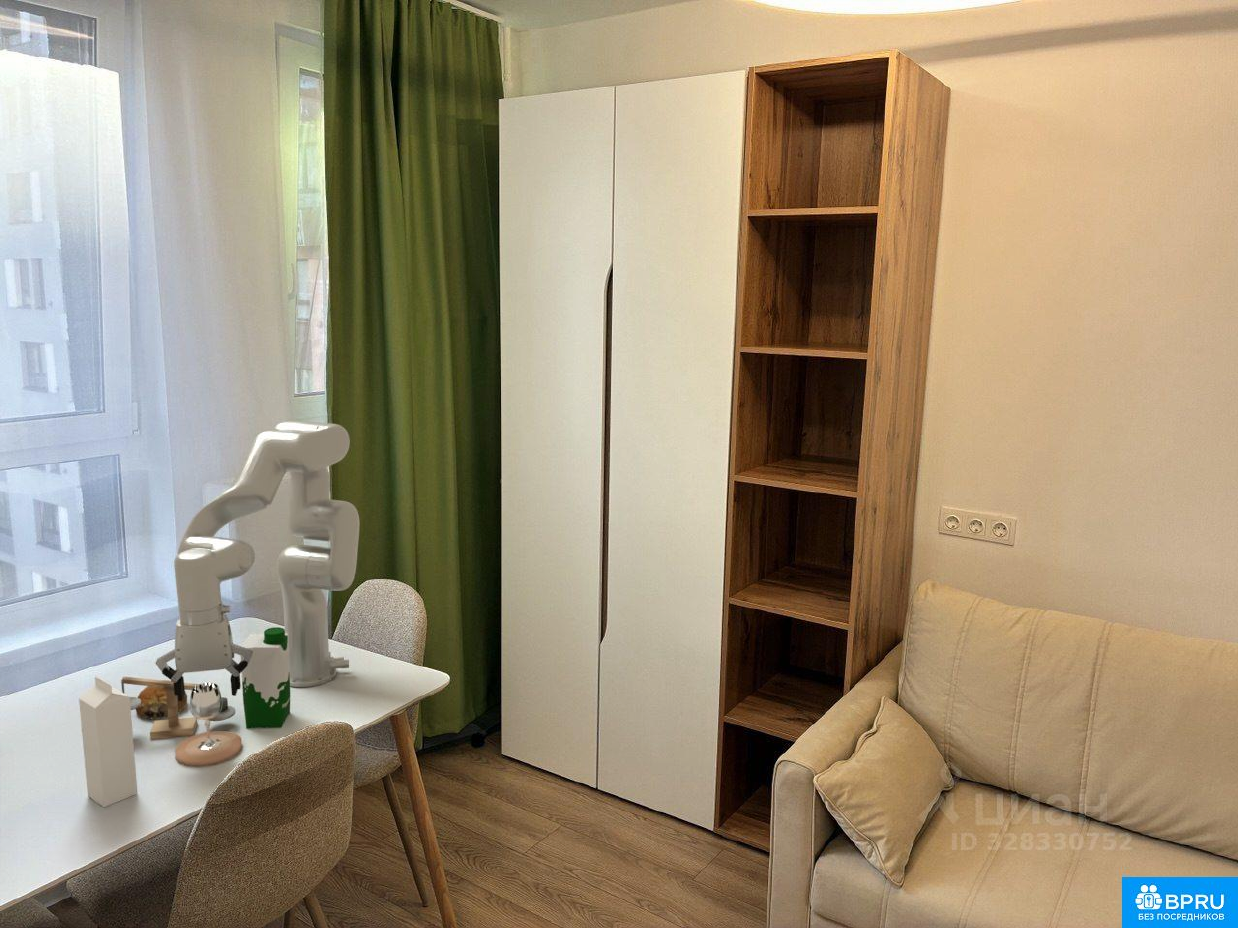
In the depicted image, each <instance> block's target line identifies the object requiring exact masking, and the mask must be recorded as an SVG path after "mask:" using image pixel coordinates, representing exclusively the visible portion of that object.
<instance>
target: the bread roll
mask: <svg viewBox="0 0 1238 928" xmlns="http://www.w3.org/2000/svg"><path fill="white" fill-rule="evenodd" d="M162 681H170V679H169V680H166V679H163V680H162ZM136 697H137V698H139V699H140V700H141V705H140V706H139V707H138V708H136V709H135V712H136V714H137V715H138V716H139V717H141V718H143V719H148V720H150V719H152V720H157V719H162V718H168V709H167V695H166V691H164V687H154V686H145V688H144V689H143V690H141V691H140V692H139V694H138V695H137V696H136ZM177 704H178V714H179V713H180V712H181V711H182V710H184V709H185V708H186V706H187V704H188V695H187V692H186V691H185V695H184V698H183V700H182V701H178V695H177Z"/></svg>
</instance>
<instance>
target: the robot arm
mask: <svg viewBox="0 0 1238 928" xmlns="http://www.w3.org/2000/svg"><path fill="white" fill-rule="evenodd" d="M252 441H253V442H252V443H251V445H250V447H249V448H248V451H247V453H246V454H245V455H246V456H245V457H244V459H243V461H242V463H241V466H240V467H239V470H238V472H237V474H236V475H235V477H234V480H233V482H232V483H231V486H230V487H229V488H228V489H227V490H225V491H223V492H222V493H220V494H219V495H217V496H216V497H214V498H213V499H212V500H211V501H209V502H208V503H207V504H205V505H204V506H203V507H201V508H200V510H198V511H197V512H196V513H195V515H194V516H193V517H192V518H191V520H190V522H189V524H188V525H187V528H186V530H185V532H184V533H183V536H182V539H181V541H180V543H179V547H178V550H177V555H176V556H175V558H174V562H173V563H174V564H173V565H174V566H173V567H174V577H175V585H176V586H175V587H176V595H177V604H178V605H177V606H178V614H179V616H178V617H179V619H177V620H176V625H175V633H174V634H175V635H174V649H172V650H171V651H168V652H167V653H166V654H163V655H162V656H160V657H157V659H156V661H155V666H157V668H158V669H159V670H160V671H161V674H162V675H163V676H165V677H166V678H168V679H169V680H170V681H171V682H173V684H174V693H175V696H177V695H178V701H182V700H183V698H184V695H185V692H186V690H185V688H184V683H185V680H184V676H183V675H184V674H185V673H196V672H197V673H198V672H209V671H220V670H226V671H227V672H229V673H230V674H231V676H230V688H231V689H230V691H231V696H233V697H234V696H235V697H236V696H237V693H238V690H241V687H242V683H241V674H242V671H243V670H244V669H245V668H246V667H247V665H248V663H249V661H250V659H251V657H252V654H253V651H252V650H250V649H247V648H244V647H241V646H242V645H239V644H237V643H236V644H235V643H234V639H233V633H232V629H231V624H230V620H229V617H228V615H227V614H226V613H231V605H225V604H224V603H223V600H222V593H221V583H222V582H226V581H229V580H233V579H236V578H239V577H242V576H244V575H245V574H247V572H249V571H250V570H251V569H252V567H253V565H254V562H255V558H256V557H255V556H256V554H255V550H254V548H253V546H252V544H250V543H248V542H247V541H245V540H241V539H236V538H227V537H218V536H215V535H216V534H217V533H218V532H219V530H221V529H222V528H224V526H226V525H228V524H229V523H231V522H233V521H235V520H238V519H240V518H243V517H245V516H247V517H248V516H249V515H252V514H255V513H258V512H260V511H263V510H265V509H267V508H269V507H270V506H271V505H272V504H273V501H274V498H275V497H276V494H277V492H278V490H279V487H280V485H281V483H282V481H283V478H284V476H285V474H286V473H287V472H289V474H290V492H289V493H290V494H289V507H288V515H287V517H288V518H287V521H288V522H287V525H288V531H289V533H290V534H291V535H292V536H294V537H295V538H298V539H304V540H310V541H318V542H319V541H322V542H329V546H330V547H325V546H320V545H319V546H318V545H310V544H308V545H307V544H294V545H290V546H288V547H286V548H284V549H283V550H282V551H281V552H280V553H279V555H278V557H277V561H276V571H277V577H278V580H279V581H278V582H279V584H280V587H281V595H282V603H283V604H282V605H283V621H284V622H283V623H284V625H283V628H284V630H285V634H289V673H290V687H293V688H295V687H296V688H307V687H315V686H319V685H322V684H325V683H328V682H329V681H331V680H333V679H334V678H335V677H336V676H337V669H348V668H350V659H345V656H339V657H334V656H332V653H331V651H330V650H329V648H330V647H329V622H328V621H329V620H328V617H329V616H328V603H327V600H326V599H327V598H326V596H325V594H324V592H323V590H324V591H336V592H337V591H338V592H339V591H345V590H347V589H349V588H350V587H351V585H352V584H353V582H354V580H355V576H356V570H357V561H358V553H359V552H358V549H359V537H360V526H361V525H360V516H359V513H358V512H359V511H358V510H357V507H356V506H355V505H354V504H353V503H351V502H349V501H346V500H340V499H339V500H338V499H331V496H330V489H331V488H330V486H331V477H330V472H329V470H328V467H330V466H333V465H334V464H337V463H339V462H340V461H342V460H343V459H344V458H345V457H346V456H347V454H348V452H349V449H350V445H351V444H350V443H351V439H350V435H349V432H348V431H347V430H346V428H345V427H343V426H342V425H341V424H337V423H331V422H330V423H329V422H313V421H305V420H304V421H303V420H302V421H301V420H300V421H298V420H288V421H286V420H285V421H282V422H280V423H279V422H278V423H277V424H276V425H275V427H273V430H265V431H263V432H260V433H259V434H258V435H256V437H254V439H253V440H252ZM235 654H237V655H239V656H240V657H241V656H243V657H244V658H243V660H242V661H241V660H240V662H239V663H238V662H237V661H235V660H234V659H235ZM172 660H175V661H174V662H175V668H176V669H174V668H172V667H171V666H170V665H168V662H171V661H172Z"/></svg>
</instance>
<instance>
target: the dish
mask: <svg viewBox="0 0 1238 928" xmlns="http://www.w3.org/2000/svg"><path fill="white" fill-rule="evenodd" d="M209 734H210V739H218V740H220V741H221V745H220V746H218V747H217V748H214V749H211V750H199V749H197V747H196V746H197V744H198V743H199V742H201V741H204V740H207V731H204V732H201V733H197V734H194V735H190V736H189V737H187V738H185V739H183V740H182V741H181V742H179V743H178V744H177V746H176V747H175V750H174V752H175V753H174V755H175V760H176V761H177V762H178V763H179V764H180V765H183V766H186V767H194V768H195V767H200V768H201V767H209V766H215V765H218V764H221V763H224V762H227V761H230V760H231V759H233V758H234V757H235V756H237V755H238V754H239V753H240V752H241V751H242V748H243V741H242V737H241V736H240V735H239V734H238V733H235V732H232V731H228V730H211V731H210V730H209Z"/></svg>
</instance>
